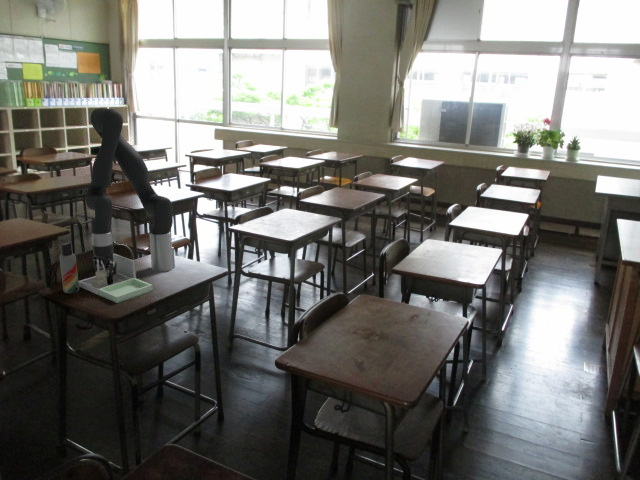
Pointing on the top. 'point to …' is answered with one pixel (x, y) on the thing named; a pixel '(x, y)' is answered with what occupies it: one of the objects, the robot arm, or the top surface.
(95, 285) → the pale grey block
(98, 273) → the beige block
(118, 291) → the green bin
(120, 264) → the grey drawer face panel
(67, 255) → the lotion bottle
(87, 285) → the grey bin
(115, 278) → the grey cubic sharp-edged block
